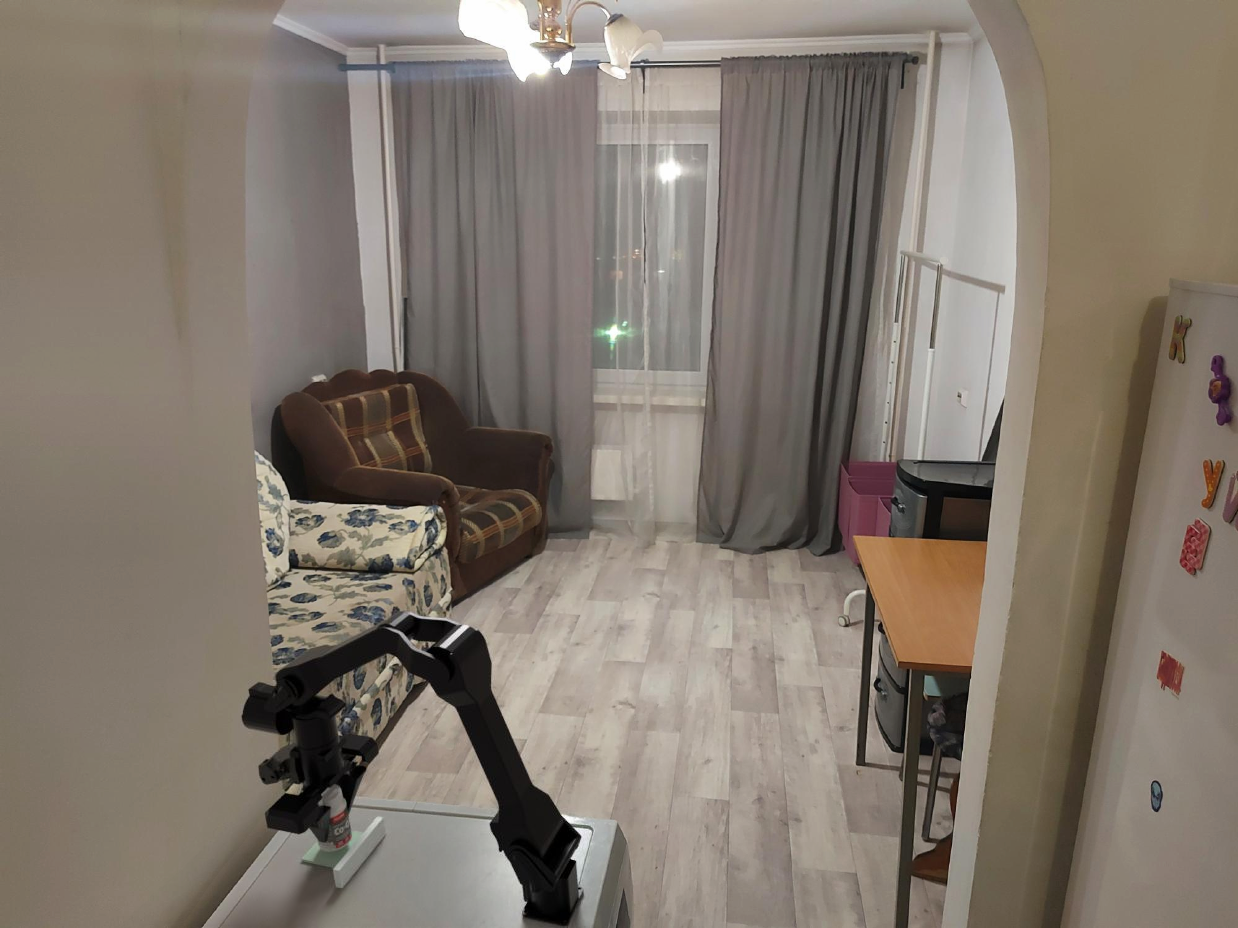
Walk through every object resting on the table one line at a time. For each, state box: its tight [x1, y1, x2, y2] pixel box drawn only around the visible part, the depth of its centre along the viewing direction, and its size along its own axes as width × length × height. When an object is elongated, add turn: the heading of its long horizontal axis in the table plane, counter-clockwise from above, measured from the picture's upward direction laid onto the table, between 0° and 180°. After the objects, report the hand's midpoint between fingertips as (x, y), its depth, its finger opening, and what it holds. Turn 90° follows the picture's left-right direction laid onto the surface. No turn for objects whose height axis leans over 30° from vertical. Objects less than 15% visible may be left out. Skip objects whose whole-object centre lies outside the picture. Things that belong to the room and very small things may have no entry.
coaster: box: [300, 829, 364, 869], centre depth 126 cm, size 7×7×1 cm
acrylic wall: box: [332, 816, 387, 889], centre depth 123 cm, size 1×11×3 cm, turn 162°
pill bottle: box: [317, 784, 353, 852], centre depth 124 cm, size 5×5×8 cm
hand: (333, 829), depth 125 cm, fingers closed on pill bottle, 5 cm apart
